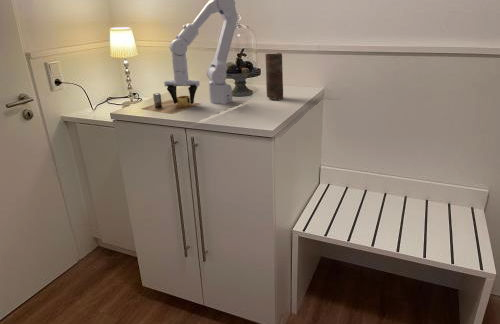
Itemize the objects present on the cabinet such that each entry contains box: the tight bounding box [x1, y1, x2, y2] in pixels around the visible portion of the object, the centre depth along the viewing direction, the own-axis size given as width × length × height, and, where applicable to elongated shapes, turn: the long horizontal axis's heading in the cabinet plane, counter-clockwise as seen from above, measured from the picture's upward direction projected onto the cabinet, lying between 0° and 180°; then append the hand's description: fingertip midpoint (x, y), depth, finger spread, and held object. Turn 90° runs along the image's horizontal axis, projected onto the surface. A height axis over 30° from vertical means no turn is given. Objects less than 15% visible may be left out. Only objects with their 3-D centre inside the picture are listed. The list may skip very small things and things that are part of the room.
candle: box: [265, 52, 284, 101], centre depth 164 cm, size 8×7×20 cm
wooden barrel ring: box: [177, 95, 191, 107], centre depth 157 cm, size 5×5×4 cm
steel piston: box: [152, 92, 163, 108], centre depth 156 cm, size 3×3×6 cm
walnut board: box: [140, 99, 201, 115], centre depth 158 cm, size 18×18×1 cm
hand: (183, 103), depth 158 cm, fingers open, 7 cm apart
